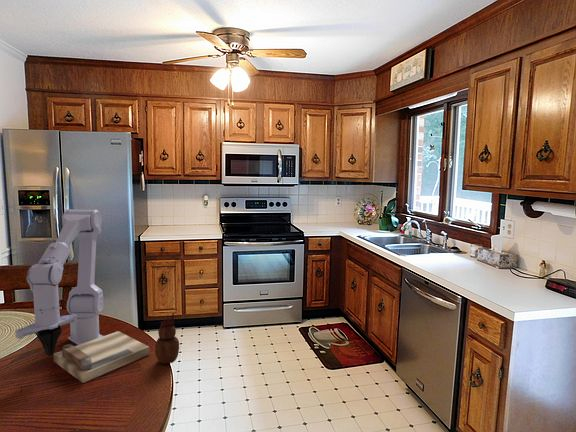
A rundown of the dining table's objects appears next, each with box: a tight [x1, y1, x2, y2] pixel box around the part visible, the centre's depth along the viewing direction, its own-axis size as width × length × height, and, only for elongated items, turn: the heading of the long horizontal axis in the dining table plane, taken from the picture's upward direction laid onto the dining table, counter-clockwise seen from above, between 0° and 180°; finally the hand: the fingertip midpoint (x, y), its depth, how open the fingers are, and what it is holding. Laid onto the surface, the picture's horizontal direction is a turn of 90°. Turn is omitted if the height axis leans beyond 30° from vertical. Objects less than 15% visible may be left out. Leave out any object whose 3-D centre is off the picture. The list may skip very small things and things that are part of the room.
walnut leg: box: [61, 343, 92, 370], centre depth 105 cm, size 14×3×2 cm, turn 54°
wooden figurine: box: [154, 312, 180, 365], centre depth 110 cm, size 7×6×15 cm
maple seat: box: [53, 330, 150, 384], centre depth 112 cm, size 18×20×3 cm
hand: (49, 354), depth 102 cm, fingers closed
